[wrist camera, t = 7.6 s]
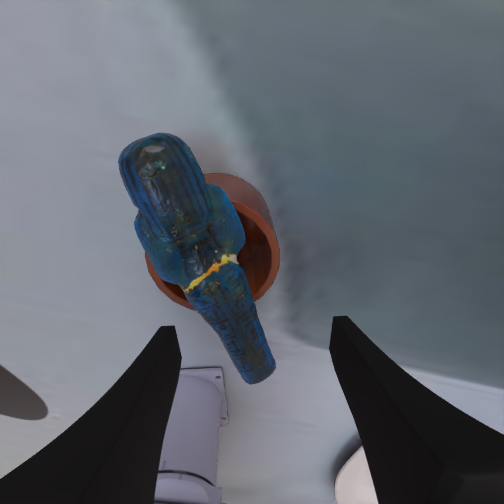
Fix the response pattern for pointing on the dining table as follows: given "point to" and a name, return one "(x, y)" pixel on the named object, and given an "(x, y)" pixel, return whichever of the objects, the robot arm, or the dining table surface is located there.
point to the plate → (355, 481)
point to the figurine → (196, 244)
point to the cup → (256, 240)
